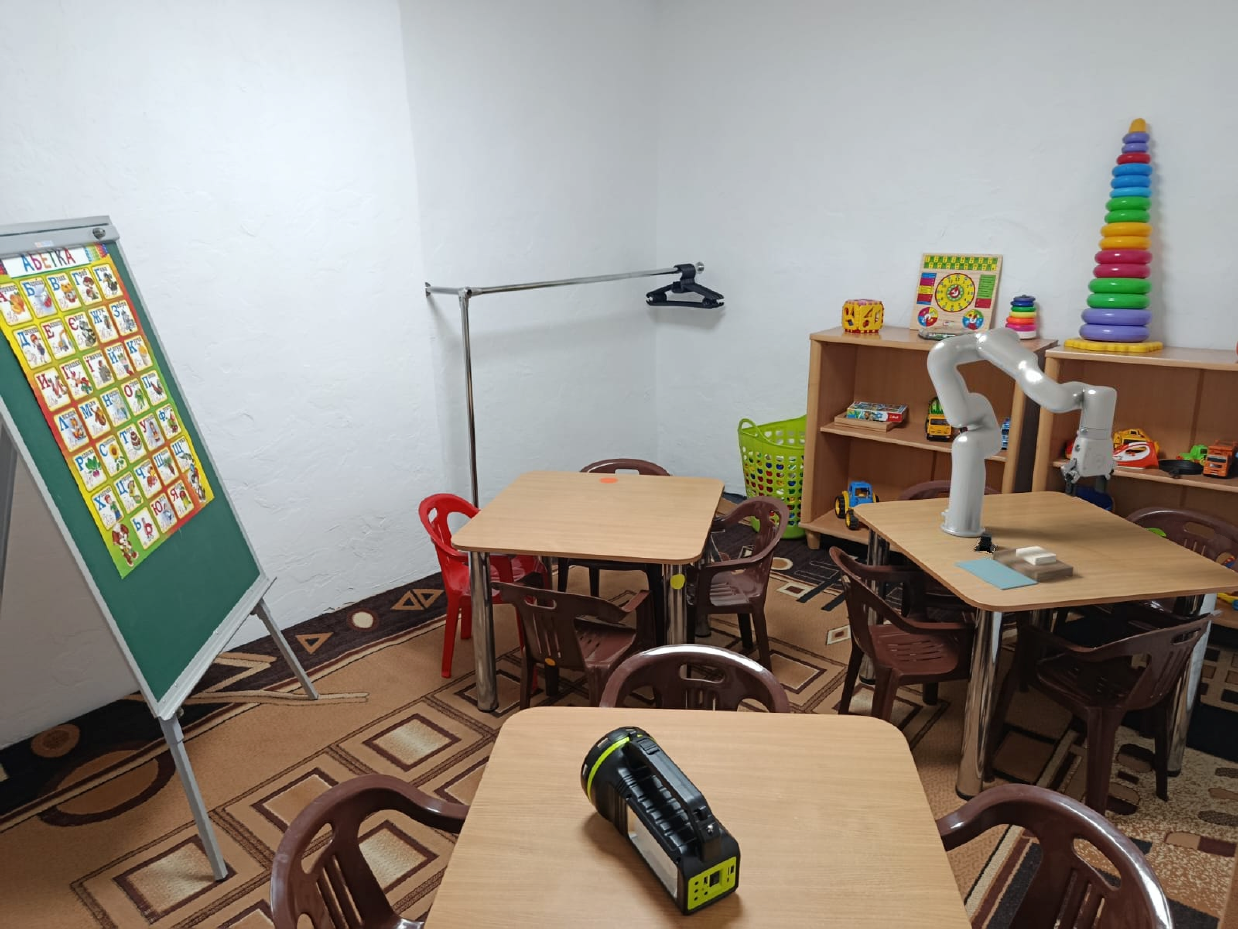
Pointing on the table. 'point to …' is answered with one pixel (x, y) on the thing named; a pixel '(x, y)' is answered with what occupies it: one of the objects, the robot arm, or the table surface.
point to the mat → (996, 573)
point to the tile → (1036, 555)
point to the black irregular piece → (986, 543)
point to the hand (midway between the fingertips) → (1085, 494)
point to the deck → (1032, 566)
